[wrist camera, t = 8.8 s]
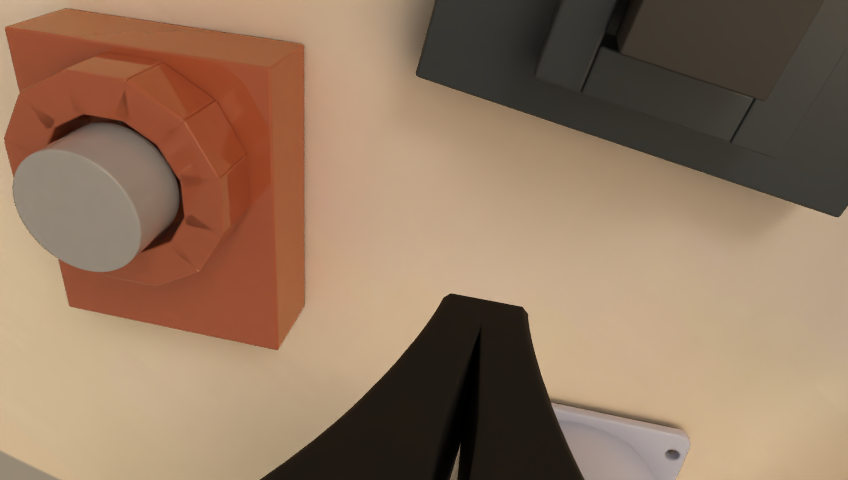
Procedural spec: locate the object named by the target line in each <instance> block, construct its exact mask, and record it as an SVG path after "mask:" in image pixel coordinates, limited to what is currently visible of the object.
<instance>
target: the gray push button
mask: <svg viewBox="0 0 848 480" xmlns="http://www.w3.org/2000/svg"><path fill="white" fill-rule="evenodd" d="M12 188H13V198H14V203H15V206H16V209H17V211H18V214H19V216H20V218H21V220H22V222H23V223H24V225H25V227H26V228H27V230H28V231H29V232H30V234H31V235H32V236H33V237H34V238H35V240H36V241H37V242H38V243H39V244H40V245H41V246H42V247H44V248H45V249H46V250H47V251H48V252H49V253H51V254H52V255H54V256H55V257H56V258H58V259H60V260H62V261H63V262H65V263H67V264H69V265H71V266H74V267H76V268H79V269H83V270H87V271H92V272H109V271H113V270H117V269H120V268H122V267H124V266H125V265H127V264H128V263H130V262H131V261H132V260H133V259H134V258H135V257H136V256H137V255H138V254H139V253H141V252H142V251H143V250H144V249H145V248H146V247H147V246H148V245H149V244H150V243H151V242H153V241H154V240H155V239H156V238H157V237H158V236H159V235H160V234H161V233H162V232H163V231H165V230H166V229H167V228H168V227H169V226H170V225H171V224H172V222H173V221H174V219H175V217H176V215H177V212H178V208H179V201H180V197H179V188H178V183H177V180H176V177H175V175H174V172H173V170H172V168H171V167H170V165H169V163H168V162H167V160H166V159H165V157H164V156H163V155H162V153H161V152H160V151H159V150H158V149H157V148H156V147H155V146H154V145H153V144H152V143H151V142H150V141H148V140H147V139H146V138H145V137H143V136H142V135H140V134H138V133H137V132H135V131H133V130H131V129H129V128H127V127H124V126H121V125H118V124H114V123H107V122H95V123H89V124H86V125H83V126H81V127H79V128H78V129H76V130H74V131H72V132H70V133H68V134H67V135H65V136H63V137H61V138H59V139H58V140H56V141H54V142H52V143H50V144H49V145H47V146H45V147H43V148H41V149H39V150H38V151H36V152H34V153H32V154H31V155H29V156H27V157H26V158H25V159H24V160H23V161H22V162H21V163H20V165H19V166H18V168H17V170H16V172H15V175H14V179H13V187H12Z"/></svg>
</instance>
